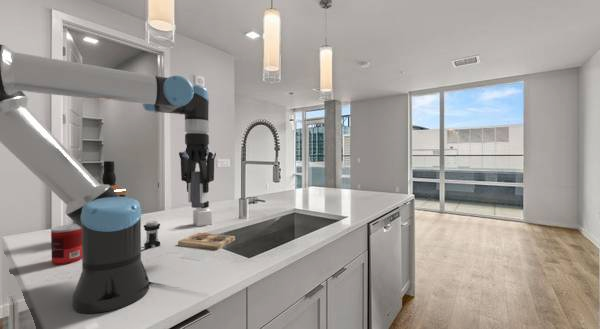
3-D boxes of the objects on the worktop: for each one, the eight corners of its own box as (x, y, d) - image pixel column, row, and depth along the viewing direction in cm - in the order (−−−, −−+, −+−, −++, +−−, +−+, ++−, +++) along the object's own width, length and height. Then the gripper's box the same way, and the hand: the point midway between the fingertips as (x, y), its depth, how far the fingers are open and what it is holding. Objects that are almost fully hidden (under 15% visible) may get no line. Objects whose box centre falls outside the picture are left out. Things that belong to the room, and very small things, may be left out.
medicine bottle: (206, 221, 139) (206, 199, 138) (212, 224, 133) (212, 200, 133) (192, 223, 134) (192, 200, 134) (197, 226, 129) (197, 202, 128)
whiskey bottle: (107, 240, 106) (106, 161, 105) (88, 238, 109) (87, 161, 108) (129, 233, 116) (129, 161, 115) (112, 231, 119) (111, 160, 118)
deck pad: (199, 263, 84) (199, 260, 84) (178, 260, 87) (178, 257, 87) (214, 254, 92) (214, 251, 92) (194, 252, 94) (194, 249, 94)
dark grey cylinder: (198, 208, 87) (198, 172, 87) (188, 207, 89) (188, 171, 88) (206, 205, 91) (206, 171, 91) (196, 205, 92) (196, 171, 92)
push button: (142, 254, 92) (142, 225, 92) (137, 250, 96) (137, 223, 95) (162, 249, 97) (162, 222, 97) (157, 245, 101) (157, 219, 100)
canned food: (87, 254, 91) (86, 223, 91) (77, 263, 84) (76, 229, 83) (59, 257, 88) (58, 225, 88) (46, 266, 81) (45, 231, 80)
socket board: (217, 252, 94) (217, 245, 94) (178, 247, 99) (178, 240, 99) (234, 242, 105) (234, 235, 105) (199, 238, 110) (199, 231, 110)
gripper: (225, 133, 90) (225, 201, 91) (184, 134, 95) (185, 199, 96) (211, 131, 83) (212, 205, 84) (168, 133, 88) (169, 202, 89)
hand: (197, 201), depth 90 cm, fingers closed on dark grey cylinder, 4 cm apart
